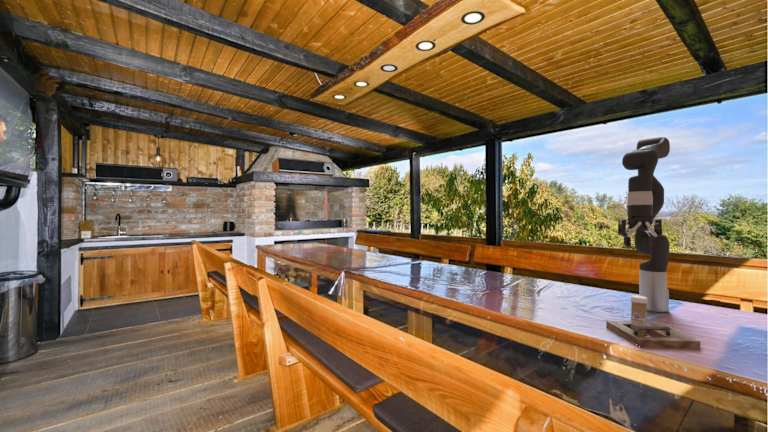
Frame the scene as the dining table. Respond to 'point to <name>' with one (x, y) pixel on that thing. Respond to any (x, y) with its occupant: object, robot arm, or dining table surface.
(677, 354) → the dining table surface
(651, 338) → the flat wooden frame
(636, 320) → the sprinkles bottle
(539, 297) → the dining table surface
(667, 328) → the hook rod
